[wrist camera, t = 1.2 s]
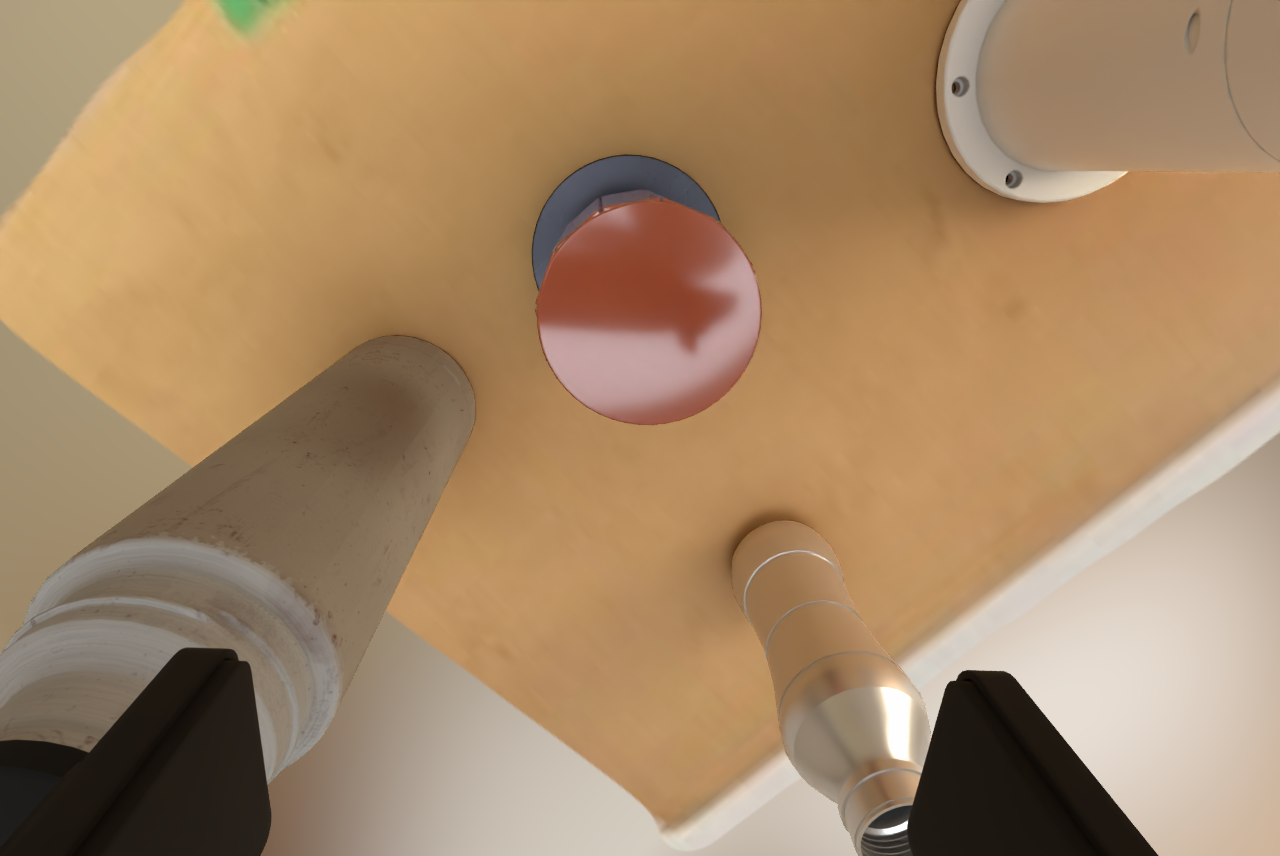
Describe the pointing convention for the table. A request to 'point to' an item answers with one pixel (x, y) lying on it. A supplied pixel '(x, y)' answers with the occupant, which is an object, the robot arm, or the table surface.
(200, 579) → the thermos bottle
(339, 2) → the table surface
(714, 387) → the cup
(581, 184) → the bowl
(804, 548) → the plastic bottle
